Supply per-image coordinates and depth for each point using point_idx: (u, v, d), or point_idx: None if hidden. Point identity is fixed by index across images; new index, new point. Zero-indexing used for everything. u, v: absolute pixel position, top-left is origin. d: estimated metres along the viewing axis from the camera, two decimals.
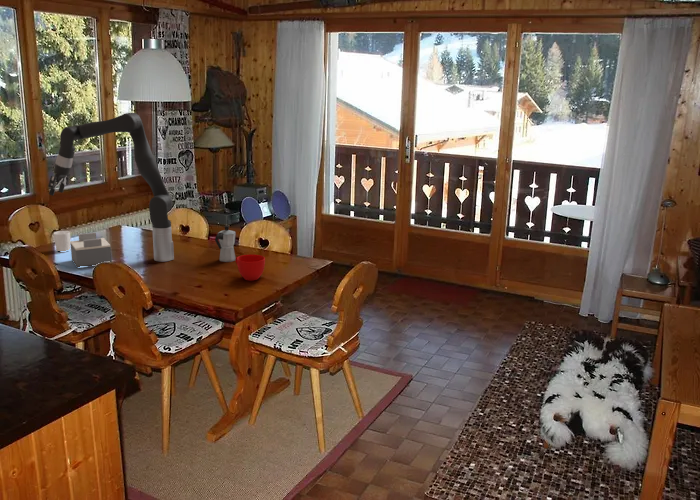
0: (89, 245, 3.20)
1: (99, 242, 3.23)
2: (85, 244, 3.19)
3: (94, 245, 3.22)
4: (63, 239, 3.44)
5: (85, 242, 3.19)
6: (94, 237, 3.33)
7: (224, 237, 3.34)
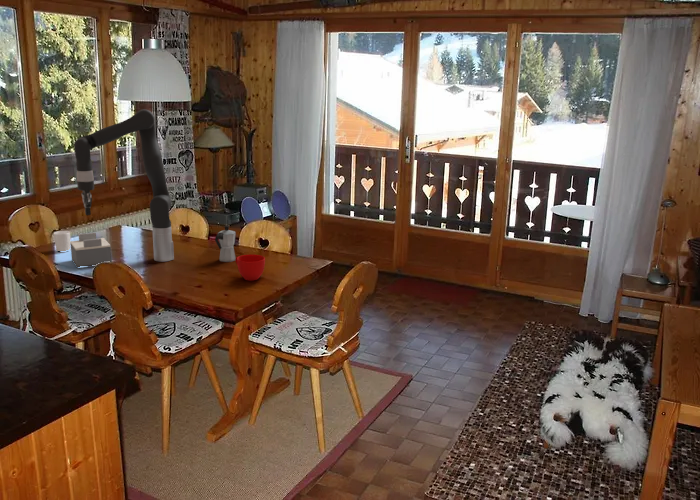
0: (89, 245, 3.20)
1: (99, 242, 3.23)
2: (85, 244, 3.19)
3: (94, 245, 3.22)
4: (63, 239, 3.44)
5: (85, 242, 3.19)
6: (94, 237, 3.33)
7: (224, 237, 3.34)
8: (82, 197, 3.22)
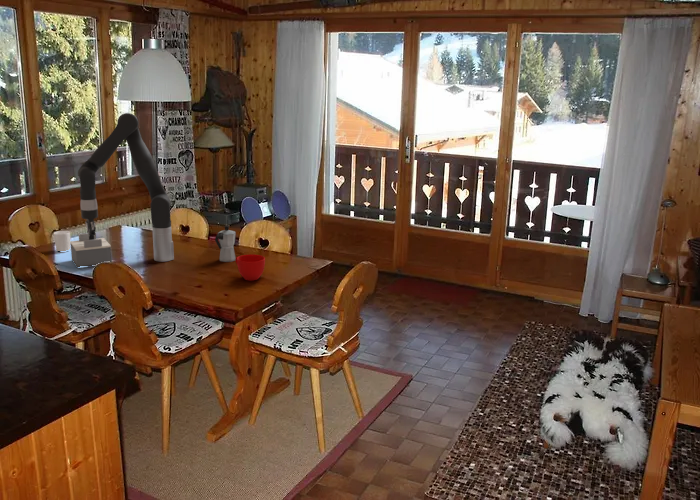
0: (89, 245, 3.20)
1: (99, 242, 3.22)
2: (85, 244, 3.19)
3: (94, 245, 3.21)
4: (63, 239, 3.44)
5: (85, 242, 3.18)
6: (94, 237, 3.33)
7: (224, 237, 3.34)
8: (86, 225, 3.22)
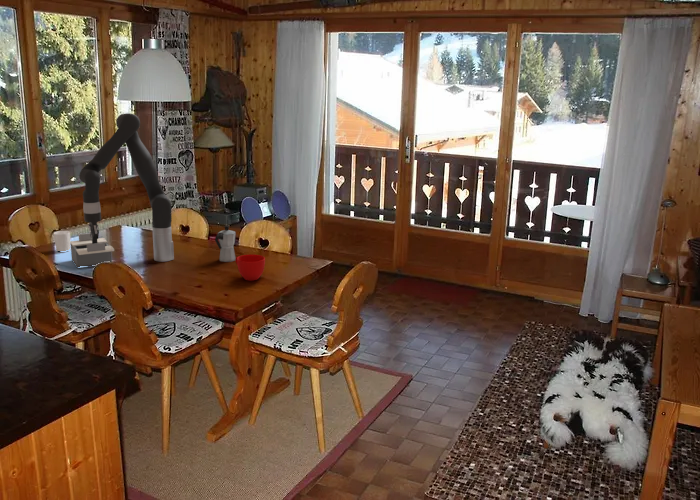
0: (92, 249, 3.13)
1: (103, 246, 3.15)
2: (88, 248, 3.12)
3: (98, 249, 3.15)
4: (63, 239, 3.44)
5: (88, 246, 3.12)
6: None
7: (224, 237, 3.34)
8: (89, 229, 3.15)
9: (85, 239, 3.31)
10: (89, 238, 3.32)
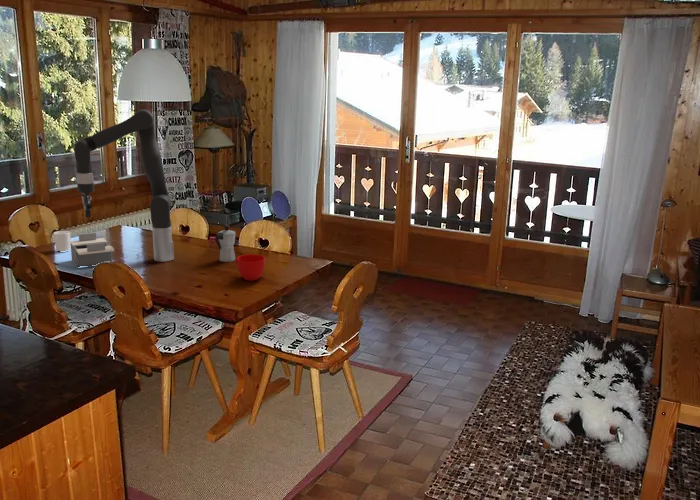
0: (92, 249, 3.13)
1: (103, 246, 3.15)
2: (88, 248, 3.12)
3: (98, 249, 3.15)
4: (63, 239, 3.44)
5: (88, 246, 3.12)
6: (94, 237, 3.33)
7: (224, 237, 3.34)
8: (82, 199, 3.22)
9: (85, 239, 3.31)
10: (89, 238, 3.32)
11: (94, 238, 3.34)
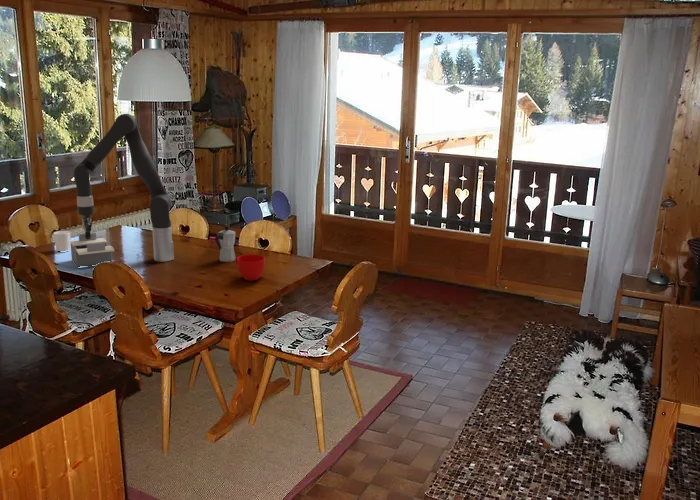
0: (92, 249, 3.13)
1: (103, 246, 3.15)
2: (88, 248, 3.12)
3: (98, 249, 3.15)
4: (63, 239, 3.44)
5: (88, 246, 3.12)
6: (94, 237, 3.34)
7: (224, 237, 3.34)
8: (82, 221, 3.28)
9: (85, 239, 3.31)
10: None
11: (94, 238, 3.34)
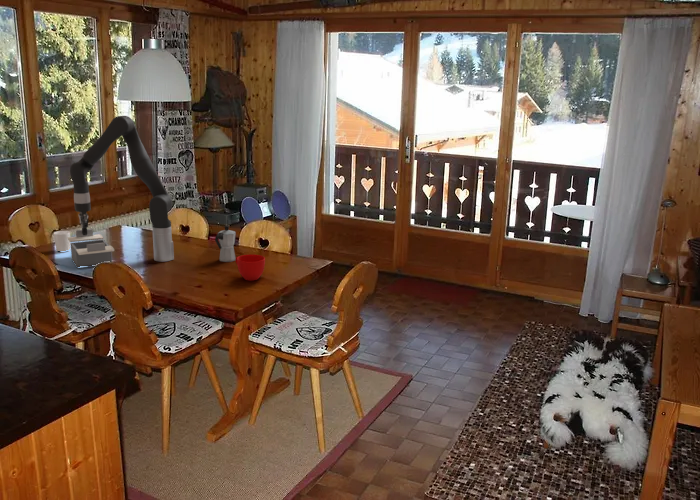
0: (92, 249, 3.13)
1: (103, 246, 3.15)
2: (88, 248, 3.12)
3: (98, 249, 3.15)
4: (63, 239, 3.44)
5: (88, 246, 3.12)
6: (91, 233, 3.41)
7: (224, 237, 3.34)
8: (79, 218, 3.36)
9: (82, 235, 3.39)
10: None
11: (91, 234, 3.41)
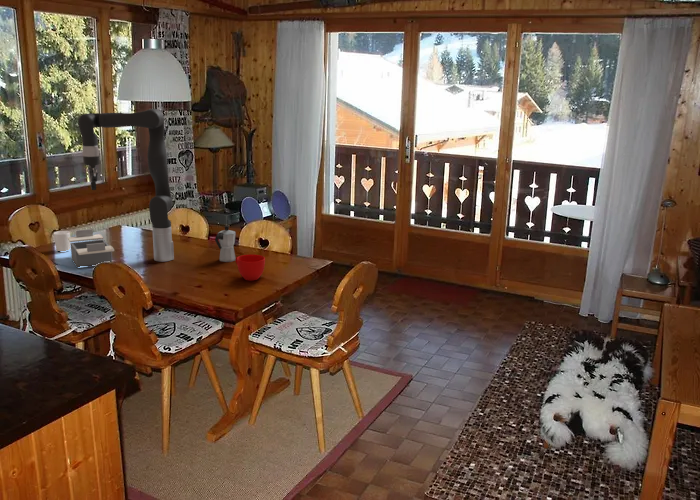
0: (92, 249, 3.13)
1: (103, 246, 3.15)
2: (88, 248, 3.12)
3: (98, 249, 3.15)
4: (63, 239, 3.44)
5: (88, 246, 3.12)
6: (91, 233, 3.41)
7: (224, 237, 3.34)
8: (88, 172, 3.28)
9: (82, 235, 3.39)
10: (86, 234, 3.40)
11: (91, 234, 3.41)
